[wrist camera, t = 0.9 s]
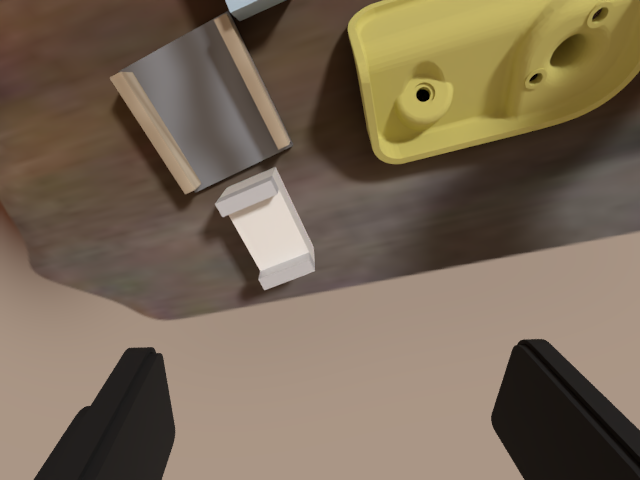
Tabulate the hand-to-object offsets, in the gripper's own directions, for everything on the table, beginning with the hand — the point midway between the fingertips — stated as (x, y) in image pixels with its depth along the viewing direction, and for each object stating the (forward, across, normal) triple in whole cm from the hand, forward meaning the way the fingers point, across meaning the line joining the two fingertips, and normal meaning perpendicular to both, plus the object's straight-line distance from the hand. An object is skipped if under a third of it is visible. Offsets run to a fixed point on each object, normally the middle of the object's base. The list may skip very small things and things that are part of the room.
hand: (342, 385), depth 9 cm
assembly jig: (+25, +8, -6) cm, 27 cm away
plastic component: (+25, -14, -10) cm, 30 cm away
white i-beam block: (+26, +3, +4) cm, 26 cm away
